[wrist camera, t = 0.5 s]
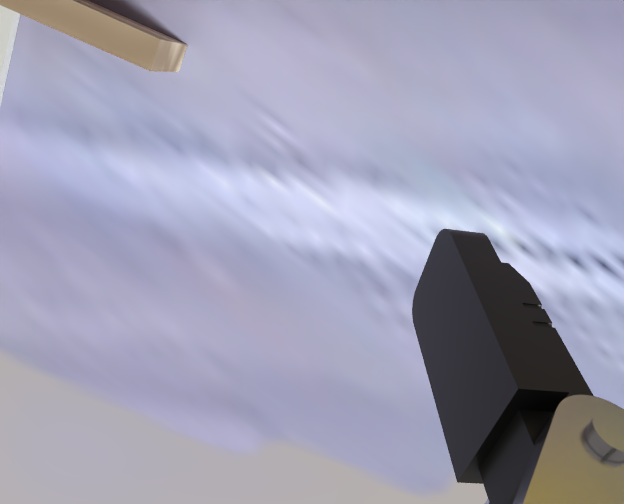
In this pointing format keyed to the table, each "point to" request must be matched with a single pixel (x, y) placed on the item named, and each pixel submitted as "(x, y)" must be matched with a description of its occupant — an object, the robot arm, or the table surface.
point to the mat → (6, 42)
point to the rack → (105, 31)
